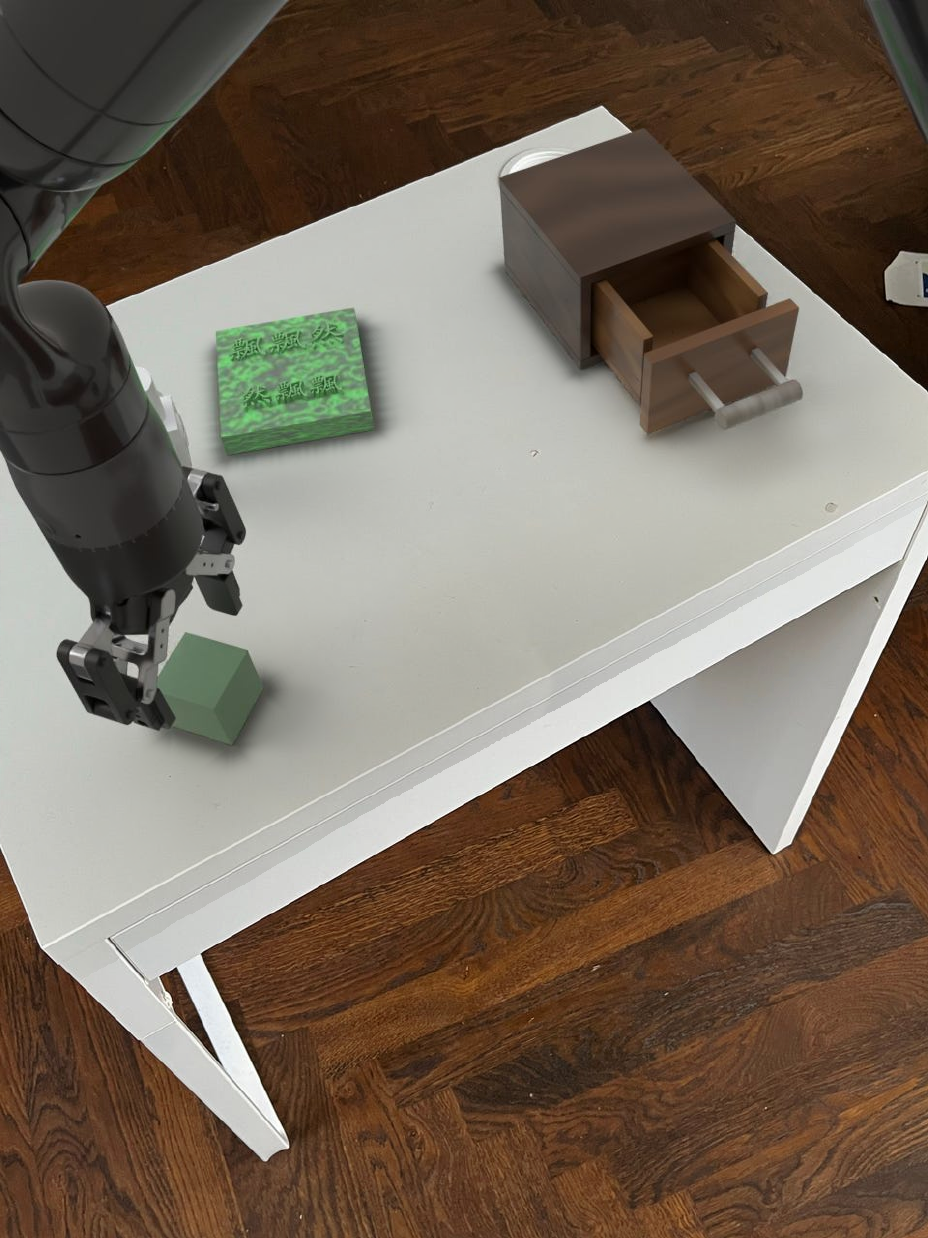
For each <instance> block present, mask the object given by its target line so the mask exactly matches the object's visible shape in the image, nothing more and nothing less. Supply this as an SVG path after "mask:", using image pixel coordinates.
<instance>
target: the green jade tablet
mask: <svg viewBox="0 0 928 1238" xmlns="http://www.w3.org/2000/svg"><path fill="white" fill-rule="evenodd" d="M215 343H216V345H215V347H216V366H217V381H218V382H217V383H218V403H219V405H218V406H219V421H220V423H219V424H220V437H221V440H222V443H223V447H224V449H225V452H226V454H227V456H232V455H236V454H242V453H249V452H253V451H260V450H266V449H270V448H276V447H282V446H288V445H294V444H299V443H304V442H310V441H316V440H322V439H328V438H333V437H339V436H344V435H349V434H356V433H361V432H368V431H372V430H373V431H374V430H375V424H374V418H373V417H374V416H373V411H372V404H371V399H370V398H371V397H370V393H369V387H368V381H367V374H366V368H365V361H364V357H363V356H364V355H363V350H362V349H363V348H362V343H361V337H360V332H359V325H358V321H357V316H356V310H355V307H353V306H352V307H348V308H342V309H337V310H336V309H335V310H331V311H324V312H318V313H312V314H308V315H301V316H296V317H295V316H294V317H291V318H285V319H284V318H283V319H277V320H272V321H266V322H262V323H256V324H255V323H254V324H249V325H243V326H238V327H232V328H225V329H221V330H215Z"/></svg>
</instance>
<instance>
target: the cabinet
mask: <svg viewBox="0 0 928 1238" xmlns="http://www.w3.org/2000/svg"><path fill="white" fill-rule="evenodd" d="M498 185H499V197H500V212H501V231H502V245H503V261H504V271H505V272H506V273H507V275H508V276H509V277H510V278H511V280H512V281H513V283H514V284H515V285H516V287H517V288H518V289H519V290H520V292H521V293H522V294H523V296H524V297H525V298H526V300H527V301H528V303H530V305H531V306H532V308H533V309H534V310H535V311H536V313H537V314H538V316H539V317H540V318H541V320H542V321H543V322H544V324H545V325H546V326H547V328H548V329H549V330H550V331H551V333H552V334H553V336H554V337H555V338H556V340H557V341H558V342H559V344H560V345H561V346H562V347H563V349H564V350H565V351H566V353H567V354H568V355H569V357H570V358H571V359H572V361H573V362H574V363H575V365H576V366H577V367H578V369H580V370H583V369H586V368H588V367H591V366H593V365H596V364H598V363H601V362H605V360H604V359H603V358H602V357H601V355H600V354H599V353H598V351H597V350H596V349H595V348H594V346H593V345H592V344H591V342H590V337H591V283H593V282H596V281H599V280H601V279H604V278H607V277H610V276H612V275H615V274H618V273H621V272H623V271H626V270H629V269H632V268H634V267H637V266H640V265H643V264H645V263H648V262H651V261H654V260H656V259H659V258H662V257H665V256H667V255H670V254H673V253H676V252H678V251H681V250H684V249H687V248H689V247H692V246H695V245H697V244H700V243H703V242H706V241H708V240H711V239H714V238H716V239H717V240H718V241H719V242H720V243H721V245H722V246H723V247H724V248H725V249H726V250H727V251H728V252H729V253H730V254H731V255H732V256H733V248H734V241H735V234H736V233H735V231H736V227H737V226H736V225H737V219H735V218H734V217H733V216H732V215H731V213H729V212H728V211H727V210H726V208H725V207H723V206H722V204H720V203H719V202H718V201H717V199H715V197H713V196H712V195H711V194H710V193H709V192H708V191H707V189H705V187H703V186H702V185H701V183H700V182H699V181H697V180H696V179H695V178H694V177H693V176H692V174H690V173H689V172H688V170H686V169H685V168H684V167H683V166H682V165H681V163H679V161H678V160H677V159H675V158H674V157H673V156H672V154H670V153H669V152H668V150H666V148H664V147H663V146H662V145H661V143H660V142H658V140H656V138H654V137H653V136H652V134H650V132H648V131H647V130H646V129H645V128H640V129H637V130H633V131H631V132H629V133H625V134H623V135H619V136H617V137H614V138H611V139H607V140H604V141H601V142H599V143H596V144H593V145H590V146H587V147H584V148H581V149H579V150H576V151H575V150H574V151H571V152H569V153H567V154H564V155H561V156H557V157H555V158H552V159H549V160H546V161H544V162H540V163H538V164H534V165H532V166H531V165H530V166H529V167H526V168H523V169H520V170H517V171H514V172H511V173H508V174H506V175H502V176H499V177H498Z"/></svg>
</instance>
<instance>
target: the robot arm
mask: <svg viewBox="0 0 928 1238" xmlns="http://www.w3.org/2000/svg"><path fill="white" fill-rule="evenodd" d="M290 1H291V0H0V453H1V456H2V457H3V459H4V461H5V464H6V467H7V470H8V473H9V475H10V477H11V480H12V482H13V485H14V487H15V489H16V491H17V493H18V495H19V496H20V498H21V500H22V501H23V503H24V505H25V506H26V508H27V510H28V512H29V513H30V514H31V516H32V518H33V519H34V521H35V523H36V525H37V527H38V528H39V531H40V532H41V534H42V535H43V537H44V539H45V541H46V543H48V545H49V547H50V549H51V550H52V552H53V554H54V555H55V557H56V559H57V560H58V562H59V564H60V565H61V567H62V569H63V570H64V572H65V574H66V576H67V577H68V578H69V579H70V580H71V582H72V583H73V584H74V585H75V586H76V587H77V588H78V589H79V590H80V591H81V592H82V593H83V594H84V595H85V596H86V597H87V599H88V602H89V614H90V619H91V621H92V623H91V624H90V626H89V627H88V629H87V630H86V631H85V632H84V633H83V635H82V637H81V638H80V639H79V641H75V640H72V639H68V638H65V639H63V640H62V641H61V642H60V643H59V644H58V646H57V648H56V653H55V654H56V659H57V661H58V663H59V665H60V666H61V668H62V670H63V672H64V673H65V675H66V677H67V679H68V680H69V683H70V685H71V686H72V688H73V690H74V692H75V693H76V695H77V697H78V699H79V700H80V702H81V704H82V705H83V707H84V709H85V711H86V713H88V714H90V715H94V716H96V717H100V718H103V719H105V720H108V721H113V722H115V723H118V724H122V725H124V726H129V725H131V724H136V725H139V726H142V727H145V728H148V729H151V730H154V731H157V732H160V731H161V729H163V730H164V729H165V730H170V729H171V728H172V727H173V726H172V724H173V723H174V721H175V719H176V717H175V715H174V714H173V712H172V710H171V708H170V706H169V705H168V703H167V701H166V699H165V697H164V696H163V694H162V692H161V690H160V689H159V688H157V677H158V675H159V665H160V664H162V663H163V662H165V661H166V660H167V659H168V648H169V637H170V636H169V635H170V633H169V632H170V626H171V624H172V622H173V621H174V619H175V618H176V615H177V612H178V611H179V608H180V606H182V604H183V603H184V602H185V601H186V600H187V599H188V598H189V595H190V594H191V593H192V590H194V586H193V582H194V580H195V582H196V585H197V586H198V588H199V592H200V593H201V596H202V597H203V600H204V602H205V605H206V606H207V607H208V608H209V609H211V610H212V611H215V612H217V613H222V614H225V615H229V616H233V617H236V616H238V614H239V613H240V611H241V610H242V608H243V606H244V605H243V603H242V600H241V598H240V597H241V590H240V586H239V583H238V581H237V577H236V576H235V573H234V571H233V569H234V567H235V564H236V563H235V561H236V558H235V555H234V554H232V551H233V548H234V547H235V545H236V546H241V545H242V544H243V543H244V541H245V538H246V536H247V529H246V526H245V524H244V521H243V519H242V516H241V515H240V512H239V509H238V507H237V505H236V503H235V501H234V498H233V496H232V494H231V491H230V489H229V488H228V487H229V486H228V484H227V483H226V481H225V478H224V477H223V475H221V474H217V473H212V472H210V471H206V470H203V469H198V468H193V467H192V468H189V467H185V466H181V464H180V461H179V459H178V457H177V454H176V452H175V449H174V447H173V444H172V442H171V439H170V437H169V434H168V432H167V430H166V428H165V425H164V423H163V421H162V419H161V418H160V416H159V414H158V413H157V411H156V410H155V408H154V407H153V405H152V404H151V402H150V400H149V398H148V396H147V394H146V392H145V390H144V388H143V385H142V383H141V381H140V378H139V376H138V373H137V371H136V368H135V366H136V365H135V364H134V361H133V359H132V357H131V354H130V352H129V349H128V347H127V345H126V343H125V339H124V336H123V335H122V332H121V331H120V328H119V326H118V324H117V322H116V321H115V319H114V317H113V315H112V314H111V312H110V310H109V309H108V307H107V306H106V305H105V303H104V302H103V301H102V300H101V299H100V298H98V296H96V295H95V294H94V293H93V292H92V291H90V290H89V289H87V288H86V287H83V286H81V285H79V284H77V283H74V282H70V281H67V280H60V279H59V280H58V279H41V280H34V281H29V282H24V283H21V282H22V281H23V280H24V279H25V278H26V277H27V275H28V274H29V273H30V272H31V270H32V269H33V268H34V267H35V265H36V264H37V263H38V262H39V261H40V259H41V258H42V257H43V256H44V254H46V252H47V251H48V249H49V248H50V247H52V245H53V243H54V242H55V241H56V240H57V239H58V238H59V237H60V235H62V233H63V232H64V231H65V229H66V228H67V227H68V226H69V225H70V223H71V222H72V221H73V220H74V219H75V218H76V217H77V215H78V214H79V213H80V212H81V210H82V209H83V208H84V207H85V206H86V204H87V203H88V202H89V201H90V200H91V199H92V197H93V196H94V195H95V194H96V193H97V191H98V190H99V189H100V188H101V187H102V186H103V185H104V184H106V183H108V182H110V181H112V180H114V179H116V178H117V177H118V176H121V175H122V174H124V173H125V172H127V171H128V170H129V169H130V168H131V167H132V166H134V165H135V164H137V162H139V160H141V159H142V158H143V157H144V156H145V155H146V154H148V152H150V151H151V150H152V149H153V147H155V146H156V145H157V144H158V143H159V141H161V139H162V138H164V137H165V135H166V134H167V133H169V132H170V131H171V130H172V128H174V126H176V125H177V124H178V123H179V122H180V121H181V120H182V119H183V117H185V116H186V115H187V114H188V112H190V110H192V109H193V108H194V107H195V106H196V105H197V104H198V103H199V102H200V101H201V100H202V99H203V98H204V97H205V96H206V95H207V93H209V91H210V90H211V89H212V88H213V87H214V86H215V85H216V84H217V83H218V81H220V80H221V78H223V76H224V75H225V74H226V73H227V72H228V71H229V70H230V69H231V68H232V67H233V66H234V64H235V63H236V62H237V61H238V60H239V59H240V58H241V57H242V56H243V55H244V53H245V52H246V51H247V50H248V49H249V48H250V47H251V46H252V44H253V43H254V42H255V41H256V40H257V38H259V36H260V35H261V34H262V33H263V32H264V30H266V28H267V27H268V25H270V23H271V22H272V21H273V19H275V18H276V16H277V15H279V13H280V12H281V11H282V10H283V8H284V7H285V6H286V5H287V4H288V3H289V2H290ZM862 2H863V4H864V7H865V9H866V12H867V14H868V17H869V19H870V22H871V24H872V27H873V29H874V32H875V34H876V37H877V40H878V42H879V45H880V47H881V49H882V52H883V55H884V57H885V60H886V62H887V64H888V67H889V68H890V72H891V73H892V76H893V78H894V81H895V83H896V86H897V88H898V90H899V92H900V94H901V96H902V99H903V101H904V103H905V105H906V107H907V110H908V112H909V114H910V116H911V119H912V121H913V123H914V126H915V127H916V130H917V132H918V134H919V135H920V137H921V139H922V141H923V143H924V145H925V147H926V149H927V150H928V0H862ZM126 636H147V644H146V643H143V642H139V641H135V640H133V639H129V638H127V637H126ZM129 663H131V664H132V665H133V664H134V665H135V666H136V667H137V669H138V673H137V677H134V676H131V675H128V666H129Z"/></svg>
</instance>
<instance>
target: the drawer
mask: <svg viewBox="0 0 928 1238" xmlns="http://www.w3.org/2000/svg"><path fill="white" fill-rule="evenodd" d="M768 296H769V292H768V291H767V289H765V288H764V287H763V285H761V284H760V283H759V281H758V280H757V279H756V278H755V277H753V275H752V274H750V272H749V271H748V270H747V269H746V268H745V267H744V266H743V265H742V264H741V263H740V262H739V261H738V260H737V259H736V258H735V257H734V255H733V254H732V255H731V254H730V253H729V252H728V251H727V250H726V249H725V248H724V247H723V246H722V245H721V243H720V242H719V241H718V240H717V239H716V238H714V239H711V240H708V241H706V242H703V243H700V244H697V245H695V246H692V247H689V248H687V249H684V250H681V251H678V252H676V253H673V254H670V255H667V256H665V257H662V258H659V259H656V260H654V261H651V262H648V263H645V264H643V265H640V266H637V267H634V268H632V269H629V270H626V271H623V272H621V273H618V274H615V275H612V276H610V277H607V278H604V279H601V280H599V281H596V282H593V283H591V337H590V342H591V344H592V345H593V346H594V348H595V349H596V350H597V351H598V353H599V354H600V355H601V357H602V358H603V359H604V362H605V363H606V364H607V366H608V368H610V369H611V371H612V372H613V373H614V374H615V376H616V377H617V378H618V380H619V381H620V382H621V384H622V385H623V386H624V388H625V389H626V390H627V391H628V392H629V394H630V395H631V396H632V397H633V399H634V401H636V403H637V404H638V406H640V414H639V427H640V428H641V429H642V430H643V432H644V433H645V434H646V436H649V435H652V434H654V433H656V432H659V431H662V430H664V429H665V430H666V429H667V428H669V427H672V426H675V425H677V424H680V423H682V422H685V421H687V420H690V419H691V418H692V419H693V418H694V417H697V416H700V415H702V414H705V413H708V412H710V411H713V412H714V418H715V421H716V424H717V426H718V427H719V429H720V430H722V431H726V430H729V429H731V428H735V427H736V426H739V425H741V424H744V423H746V422H749V421H752V420H754V419H757V418H760V417H762V416H764V415H766V414H769V413H772V412H774V411H777V410H778V409H782V408H784V407H786V406H789V405H792V404H794V403H796V402H799V401H801V400H802V399H803V397H804V392H803V387H802V385H801V383H800V382H799V381H798V380H797V379H794V378H793V379H790V380H788V379H787V372H788V368H789V361H790V357H791V352H792V347H793V343H794V338H795V331H796V327H797V326H796V325H797V321H798V316H799V312H800V306H798V305H797V304H796V303H795V301H793V300H792V298H790V297H789V298H787V299H784V300H782V301H779V302H776V303H773V304H770V305H768V306H767V302H768Z"/></svg>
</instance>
